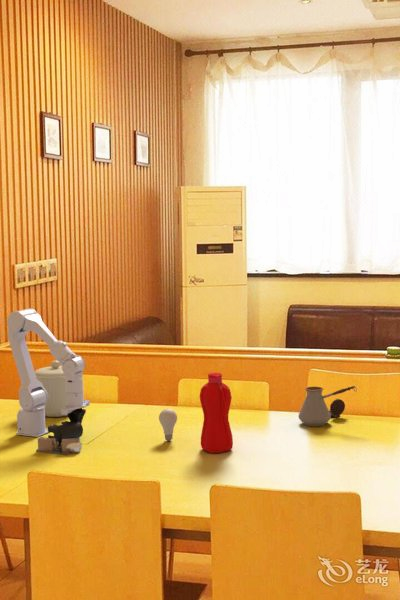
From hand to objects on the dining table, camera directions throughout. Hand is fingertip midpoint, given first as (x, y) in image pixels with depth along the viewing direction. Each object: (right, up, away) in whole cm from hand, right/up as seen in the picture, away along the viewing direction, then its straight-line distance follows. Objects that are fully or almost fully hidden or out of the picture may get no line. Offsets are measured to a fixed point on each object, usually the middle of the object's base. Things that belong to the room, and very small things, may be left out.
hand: (76, 430), depth 276 cm
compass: (+91, +2, +19) cm, 93 cm away
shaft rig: (-3, -4, -15) cm, 16 cm away
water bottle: (+48, -3, -19) cm, 52 cm away
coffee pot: (+88, +1, +7) cm, 88 cm away
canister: (-13, +1, +34) cm, 36 cm away
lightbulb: (+32, -3, -7) cm, 33 cm away
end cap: (-3, -3, -6) cm, 7 cm away
